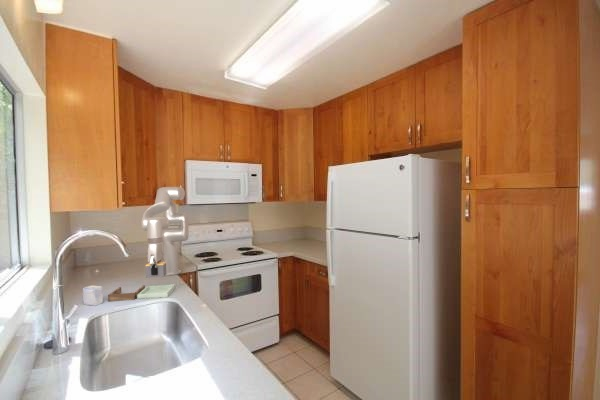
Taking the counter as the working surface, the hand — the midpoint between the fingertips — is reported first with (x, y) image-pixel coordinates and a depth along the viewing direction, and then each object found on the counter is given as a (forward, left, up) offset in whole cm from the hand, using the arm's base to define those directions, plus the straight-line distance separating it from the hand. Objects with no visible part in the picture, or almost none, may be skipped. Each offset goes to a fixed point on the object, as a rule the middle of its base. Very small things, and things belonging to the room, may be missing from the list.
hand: (156, 273), depth 151 cm
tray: (0, 0, -12) cm, 12 cm away
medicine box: (+8, -28, -12) cm, 31 cm away
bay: (0, -15, -12) cm, 19 cm away
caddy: (0, 0, -2) cm, 2 cm away
